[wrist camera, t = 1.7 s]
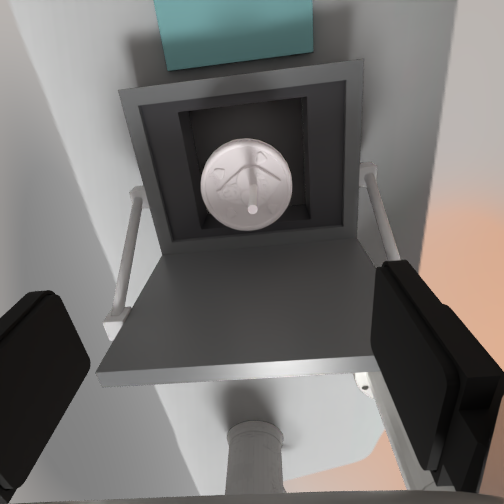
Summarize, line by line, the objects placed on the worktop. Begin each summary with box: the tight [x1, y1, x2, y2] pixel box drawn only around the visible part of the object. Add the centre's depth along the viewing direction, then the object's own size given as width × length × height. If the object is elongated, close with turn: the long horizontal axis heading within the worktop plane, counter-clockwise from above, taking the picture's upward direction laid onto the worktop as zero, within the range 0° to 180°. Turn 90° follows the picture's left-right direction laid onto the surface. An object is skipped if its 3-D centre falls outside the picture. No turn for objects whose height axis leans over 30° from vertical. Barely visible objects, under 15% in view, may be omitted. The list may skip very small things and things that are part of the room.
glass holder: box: [225, 421, 286, 495], centre depth 45 cm, size 9×14×15 cm, turn 41°
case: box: [95, 59, 401, 388], centre depth 23 cm, size 21×15×18 cm
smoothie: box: [201, 138, 292, 231], centre depth 25 cm, size 6×6×14 cm
